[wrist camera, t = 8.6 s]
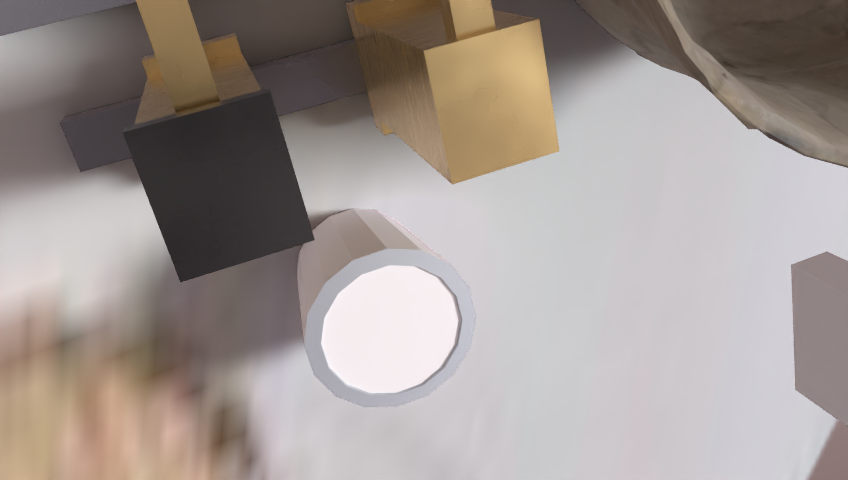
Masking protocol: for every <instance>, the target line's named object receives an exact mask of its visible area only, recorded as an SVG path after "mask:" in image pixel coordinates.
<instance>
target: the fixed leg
mask: <svg viewBox="0 0 848 480" xmlns="http://www.w3.org/2000/svg"><path fill="white" fill-rule="evenodd" d="M345 4H346V8H347V12H348V16H349V20H350V24H351V28H352V32H353V36H354V40H355V44H356V48H357V52H358V56H359V60H360V64H361V68H362V72H363V76H364V80H365V84H366V88H367V92H368V96H369V100H370V104H371V108H372V112H373V116H374V120H375V124H376V128H377V129H378V130H379V131H381V132H382V133H383V134H384V135H387V134H390V133H395V134H396V135H397V136H398V137H399V138H401V139H402V140H403V141H404V142H405V143H406V144H407V145H408V146H410V147H411V148H412V149H413V150H414V151H415V152H416V153H418V154H419V155H420V156H421V157H422V158H423V159H424V160H425V161H427V162H428V163H429V164H430V165H431V166H432V167H433V168H434V169H436V170H437V171H438V172H439V173H440V174H441V175H442V176H443V177H445V178H446V179H447V180H448V181H449V182H450V183H451V184H455V183H458V182H461V181H464V180H468V179H471V178H474V177H477V176H481V175H484V174H487V173H490V172H493V171H497V170H500V169H503V168H506V167H510V166H513V165H516V164H519V163H522V162H526V161H529V160H532V159H535V158H539V157H542V156H545V155H548V154H551V153H555V152H558V151H559V145H558V139H557V132H556V126H555V119H554V112H553V106H552V99H551V93H550V86H549V80H548V73H547V66H546V60H545V53H544V47H543V40H542V34H541V27H540V20H539V19H537V18H532V17H527V16H522V15H517V14H513V13H508V12H503V11H498V10H493V9H492V4H491V0H356V1H352V2H349V3H345Z"/></svg>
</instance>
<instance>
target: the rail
mask: <svg viewBox="0 0 848 480" xmlns="http://www.w3.org/2000/svg"><path fill="white" fill-rule="evenodd" d="M249 68H250V69H251V71H252V73H253V75H254V77H255V79H256V81H257V82H258V84H259V86H260V88H261V90H263V89H266V88H268V89H269V90H270V92H271V96H272V99H273V102H274V105H275V109H276V112H277V115H278V116H280V115H284V114H288V113H291V112H295V111H298V110H302V109H305V108H309V107H312V106H316V105H319V104H323V103H327V102H330V101H334V100H337V99H341V98H344V97H348V96H351V95H355V94H358V93H362V92H366V91H367V88H366V84H365V80H364V76H363V72H362V68H361V64H360V60H359V56H358V52H357V48H356V44H355V40H354V39H352V40H348V41H344V42H341V43H337V44H333V45H330V46H326V47H322V48H318V49H315V50H311V51H307V52H304V53H300V54H296V55H292V56H289V57H285V58H281V59H278V60H274V61H270V62H266V63H263V64H259V65H255V66H252V67H249ZM141 98H142V96H140V97H136V98H133V99H129V100H125V101H121V102H118V103H114V104H110V105H107V106H103V107H99V108H95V109H92V110H88V111H84V112H81V113H77V114H73V115H69V116H66V117H64V118H63V120H62V121H61V123H60V124H61V126H62V129H63V131H64V133H65V136H66V138H67V141H68V143H69V145H70V148H71V150H72V153H73V155H74V157H75V160H76V162H77V164H78V167H79V169H80V172H82V171H86V170H89V169H93V168H96V167H100V166H103V165H107V164H110V163H114V162H117V161H121V160H125V159H128V158H132V156H131V153H130V150H129V148H128V145H127V143H126V140H125V137H124V135H123V130H124V127H128V126H132V125H134V123H135V120H136V116H137V113H138V109H139V106H140V102H141Z"/></svg>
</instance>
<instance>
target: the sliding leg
mask: <svg viewBox="0 0 848 480" xmlns="http://www.w3.org/2000/svg"><path fill="white" fill-rule="evenodd" d="M136 2H137V5H138V8H139V11H140V14H141V16H142V19H143V22H144V25H145V28H146V31H147V33H148V36H149V39H150V42H151V45H152V47H153V50H154V53H155V54H152V55H148V56H144V57H143V59H142V64H143V66H144V69H145V72H146V75H147V81H146V84H145V88H144V91H143V95H142V98H141V102H140V106H139V109H138V113H137V116H136V120H135V123H134V125H132V126H128V127H124V130H123V135H124V137H125V140H126V143H127V145H128V148H129V150H130V153H131V156H132V158H133V161H134V163H135V166H136V168H137V171H138V174H139V176H140V179H141V181H142V184H143V186H144V189H145V192H146V194H147V197H148V199H149V202H150V205H151V207H152V210H153V212H154V215H155V217H156V220H157V223H158V225H159V228H160V230H161V233H162V236H163V238H164V241H165V243H166V246H167V248H168V251H169V254H170V256H171V259H172V261H173V264H174V266H175V269H176V272H177V274H178V277H179V279H180V282H183V281H186V280H189V279H192V278H196V277H199V276H202V275H205V274H208V273H212V272H215V271H218V270H221V269H224V268H228V267H231V266H234V265H237V264H240V263H243V262H247V261H250V260H253V259H256V258H259V257H263V256H266V255H269V254H272V253H275V252H279V251H282V250H285V249H288V248H291V247H295V246H298V245H301V244H304V243H307V242H310V241H314V240H315V239H314V235H313V232H312V229H311V225H310V222H309V219H308V215H307V212H306V209H305V205H304V202H303V199H302V195H301V192H300V189H299V185H298V182H297V179H296V175H295V172H294V169H293V165H292V162H291V159H290V155H289V152H288V149H287V145H286V142H285V139H284V135H283V132H282V129H281V125H280V122H279V119H278V115H277V112H276V109H275V105H274V102H273V99H272V96H271V92H270V90H269V89H268V88H266V89H263V90H261V88H260V86H259V84H258V82H257V81H256V79H255V77H254V75H253V73H252V71H251V69H250V68H249V66H248V64H247V62H246V60H245V58H244V57H243V55H242V53H241V50H240V47H239V44H238V40H237V37H236V35H235V33H233V34H229V35H225V36H221V37H217V38H214V39H210V40H206V41H202V42H201V39H200V36H199V33H198V30H197V27H196V24H195V21H194V18H193V15H192V12H191V9H190V6H189V3H188V0H136Z"/></svg>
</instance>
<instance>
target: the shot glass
mask: <svg viewBox="0 0 848 480" xmlns="http://www.w3.org/2000/svg"><path fill="white" fill-rule="evenodd" d="M312 232H313V235H314V239H315V240H314V241H310V242H307V243H304V244H303V246H302V248H301V250H300V251H299V258H298V267H297V282H298V292H299V301H300V311H301V321H302V331H303V340H304V347H305V350H306V353H307V356H308V359H309V361H310V364H311V367H312V370H313V373H314V375H315V376H316V377H317V378H318V379H319V380H320V381H321V382H322V383H323V384H324V385H325V386H326V387H327V388H328V389H329V390H330V391H331V392H332V393H333V394H334V395H335V396H336V397H339V398H342V399H344V400H347V401H350V402H352V403H355V404H358V405H360V406H363V407H398V406H400V405H403V404H406V403H408V402H411V401H414V400H416V399H419V398H422V397H424V396H427V395H429V394H430V393H431V392H433V391H434V390H435V389H436V388H437V387H439V386H440V385H441V384H442V383H444V382H445V381H446V380H447V379H449V378H450V377H451V376H452V375H453V374H454V373H455V372H456V370H457V368H458V367H459V365H460V363H461V362H462V360H463V359H464V357H465V355H466V354H467V352H468V350H469V349H470V347H471V343H472V337H473V332H474V327H475V321H476V313H475V309H474V304H473V300H472V296H471V292H470V288H469V286H468V285H467V284H466V283H465V281H464V280H463V279H462V278H461V276H460V275H459V274H458V273H457V271H456V270H455V269H454V268H453V266H452V265H451V264H450V263H449V262H447V261H446V260H445V259H444V258H443V257H441V256H440V255H439V254H438V253H436V252H435V251H434V250H433V249H431V248H430V247H429V246H428V245H427V244H425V243H424V242H423V241H422V240H420V239H419V238H418V237H417V236H415V235H414V234H413V233H412V232H411V231H409V230H408V229H407V228H406V227H404V226H403V225H402V224H401V223H399V222H398V221H397V220H395V219H393V218H391V217H389V216H387V215H385V214H383V213H381V212H379V211H377V210H369V209H350V210H347V211H344V212H340V213H337V214H334V215H331V216H329V217H328V218H327V219H325V220H324V221H323V222H322V223H320V224H319V225H318V226H317V227H315V228H314V229H313V230H312Z"/></svg>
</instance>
